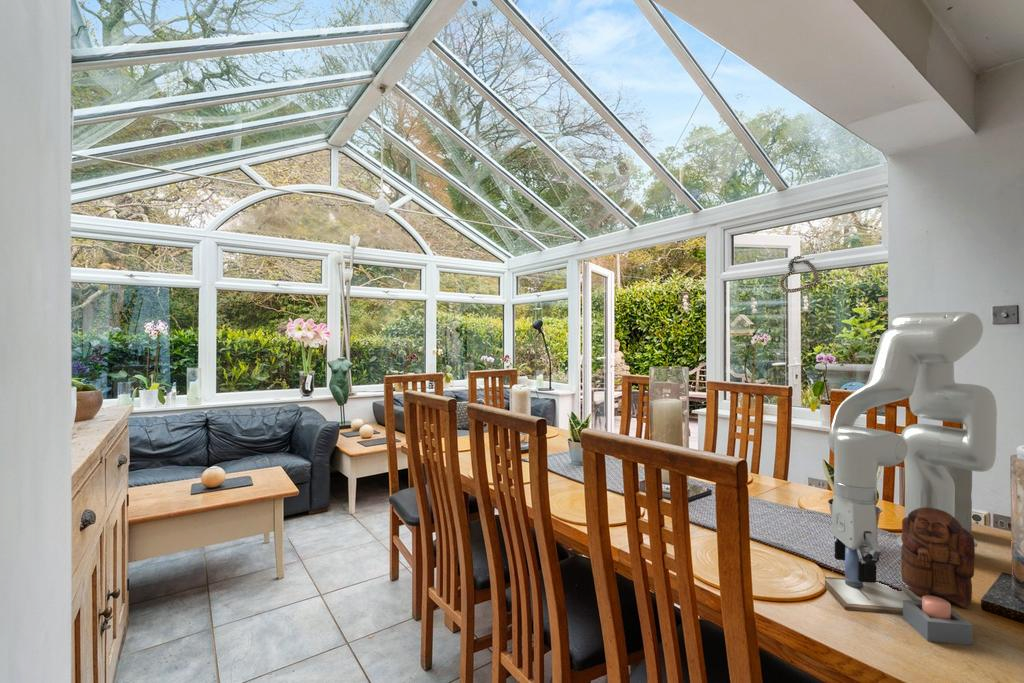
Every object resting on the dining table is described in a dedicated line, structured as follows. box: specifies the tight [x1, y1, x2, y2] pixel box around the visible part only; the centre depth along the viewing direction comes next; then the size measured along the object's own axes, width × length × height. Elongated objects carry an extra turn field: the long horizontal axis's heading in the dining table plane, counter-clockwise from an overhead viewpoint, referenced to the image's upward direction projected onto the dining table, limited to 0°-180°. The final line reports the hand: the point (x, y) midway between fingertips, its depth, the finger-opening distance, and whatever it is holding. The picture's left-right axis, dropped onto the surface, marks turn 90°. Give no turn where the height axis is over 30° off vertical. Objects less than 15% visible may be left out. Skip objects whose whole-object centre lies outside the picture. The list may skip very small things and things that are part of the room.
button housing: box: [902, 600, 973, 646], centre depth 90 cm, size 7×7×4 cm
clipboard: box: [824, 576, 922, 615], centre depth 101 cm, size 16×12×1 cm
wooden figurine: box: [900, 507, 976, 609], centre depth 102 cm, size 12×6×18 cm, turn 44°
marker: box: [844, 545, 863, 588], centre depth 105 cm, size 3×3×8 cm
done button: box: [921, 595, 952, 620], centre depth 90 cm, size 4×4×4 cm
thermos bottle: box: [944, 466, 973, 534], centre depth 134 cm, size 8×8×28 cm
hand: (854, 570), depth 105 cm, fingers open, 9 cm apart
